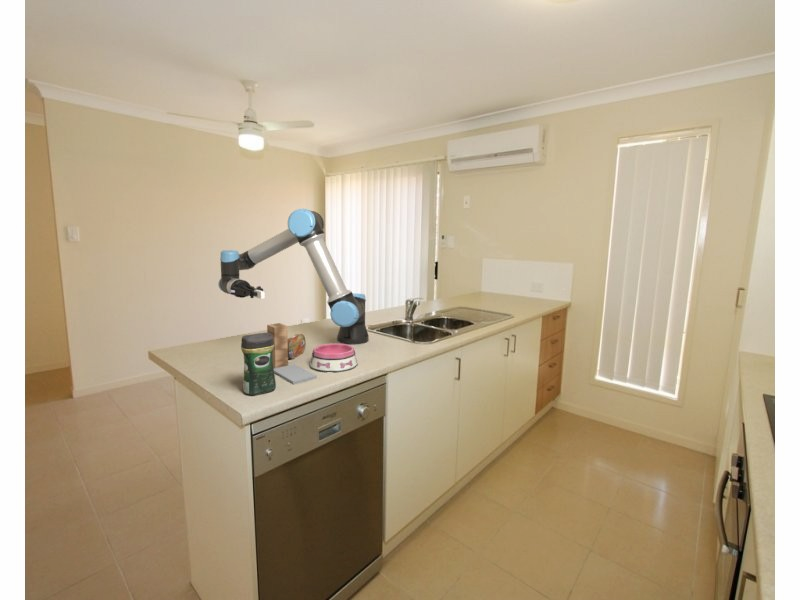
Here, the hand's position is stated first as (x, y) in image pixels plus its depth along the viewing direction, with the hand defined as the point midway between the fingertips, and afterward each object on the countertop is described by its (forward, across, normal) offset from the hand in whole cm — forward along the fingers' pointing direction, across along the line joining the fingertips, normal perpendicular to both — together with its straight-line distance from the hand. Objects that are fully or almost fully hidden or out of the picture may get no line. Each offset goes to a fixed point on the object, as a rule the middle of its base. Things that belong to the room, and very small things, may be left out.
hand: (262, 295), depth 148 cm
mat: (+23, 0, -26) cm, 35 cm away
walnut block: (+11, 0, -26) cm, 28 cm away
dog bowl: (+22, -18, -26) cm, 39 cm away
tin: (+3, -12, -26) cm, 29 cm away
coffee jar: (+29, +15, -26) cm, 42 cm away
